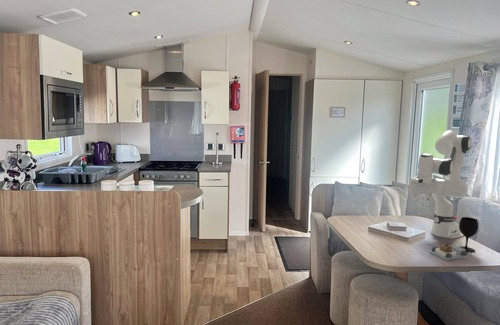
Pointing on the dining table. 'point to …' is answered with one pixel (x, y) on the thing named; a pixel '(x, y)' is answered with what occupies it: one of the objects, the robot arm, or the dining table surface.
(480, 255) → the dining table surface
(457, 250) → the chassis
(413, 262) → the dining table surface
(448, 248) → the engine block
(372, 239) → the dining table surface
